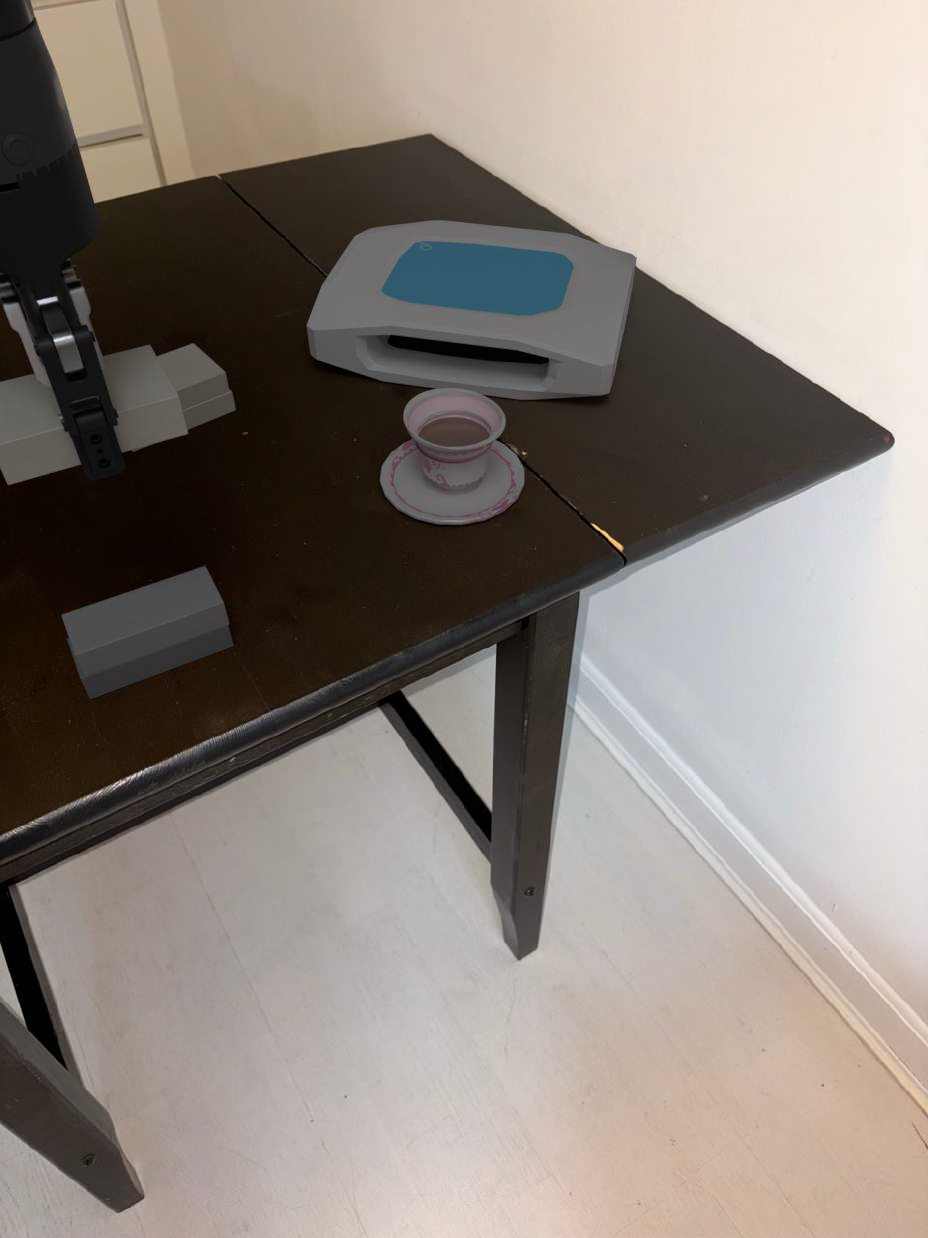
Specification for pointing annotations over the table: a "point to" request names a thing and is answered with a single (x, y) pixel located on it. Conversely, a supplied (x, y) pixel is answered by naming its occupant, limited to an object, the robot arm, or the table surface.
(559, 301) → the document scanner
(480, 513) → the teacup
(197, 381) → the grey block
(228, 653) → the table surface
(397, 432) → the table surface
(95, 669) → the gray block
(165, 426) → the light grey rectangular block
